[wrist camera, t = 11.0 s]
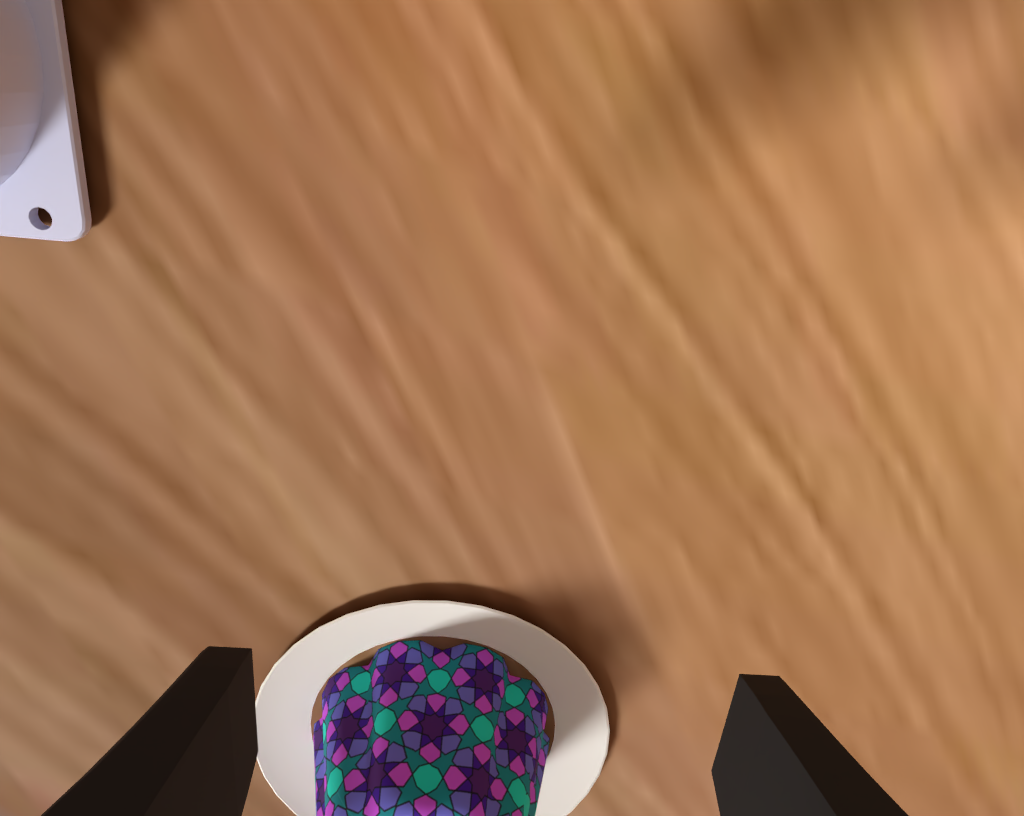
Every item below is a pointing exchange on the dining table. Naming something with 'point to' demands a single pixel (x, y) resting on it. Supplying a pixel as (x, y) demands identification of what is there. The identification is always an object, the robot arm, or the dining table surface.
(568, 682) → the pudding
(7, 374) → the dining table surface
